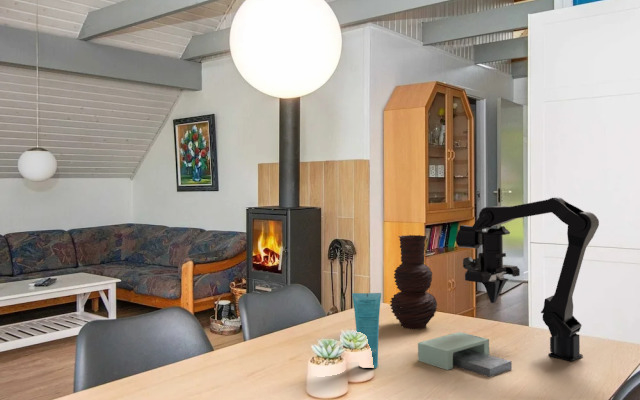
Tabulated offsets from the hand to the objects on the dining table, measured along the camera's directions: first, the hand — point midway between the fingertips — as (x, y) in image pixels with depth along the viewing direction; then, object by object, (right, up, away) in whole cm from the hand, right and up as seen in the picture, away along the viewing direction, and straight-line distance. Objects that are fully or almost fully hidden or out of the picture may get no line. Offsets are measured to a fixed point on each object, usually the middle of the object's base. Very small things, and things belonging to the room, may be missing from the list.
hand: (492, 302), depth 164 cm
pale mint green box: (-15, -13, -13) cm, 23 cm away
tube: (-38, -13, -19) cm, 44 cm away
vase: (-20, -12, +22) cm, 32 cm away
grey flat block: (-11, -13, -19) cm, 25 cm away
